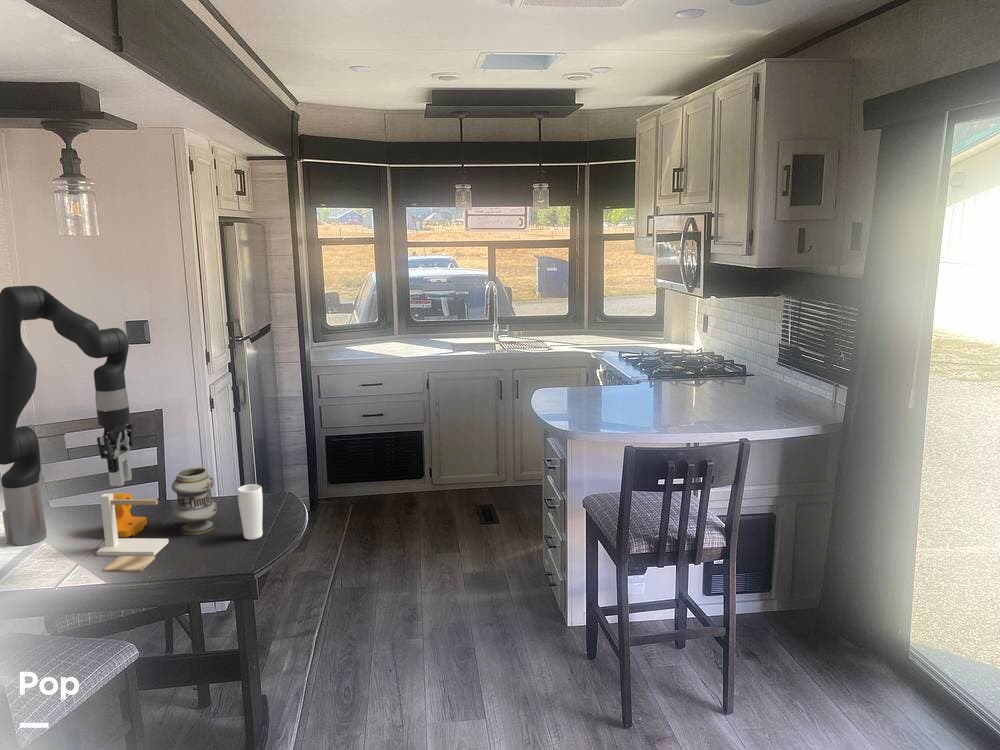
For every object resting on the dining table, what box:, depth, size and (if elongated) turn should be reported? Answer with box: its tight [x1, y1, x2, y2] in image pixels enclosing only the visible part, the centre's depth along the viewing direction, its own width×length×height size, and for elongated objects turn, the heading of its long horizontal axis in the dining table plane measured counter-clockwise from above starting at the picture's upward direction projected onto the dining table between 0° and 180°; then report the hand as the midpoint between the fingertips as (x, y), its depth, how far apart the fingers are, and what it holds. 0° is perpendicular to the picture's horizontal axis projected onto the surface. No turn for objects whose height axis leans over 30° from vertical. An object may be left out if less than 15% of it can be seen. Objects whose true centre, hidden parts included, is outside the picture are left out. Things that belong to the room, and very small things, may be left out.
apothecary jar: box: [171, 466, 218, 536], centre depth 230 cm, size 12×12×18 cm
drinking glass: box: [237, 483, 264, 541], centre depth 224 cm, size 7×7×15 cm
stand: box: [96, 493, 170, 557], centre depth 216 cm, size 16×9×16 cm, turn 88°
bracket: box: [110, 492, 148, 538], centre depth 228 cm, size 11×7×12 cm, turn 174°
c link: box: [107, 450, 133, 487], centre depth 202 cm, size 3×6×8 cm, turn 178°
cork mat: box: [103, 555, 156, 572], centre depth 208 cm, size 10×8×1 cm
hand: (119, 468), depth 202 cm, fingers closed on c link, 5 cm apart
